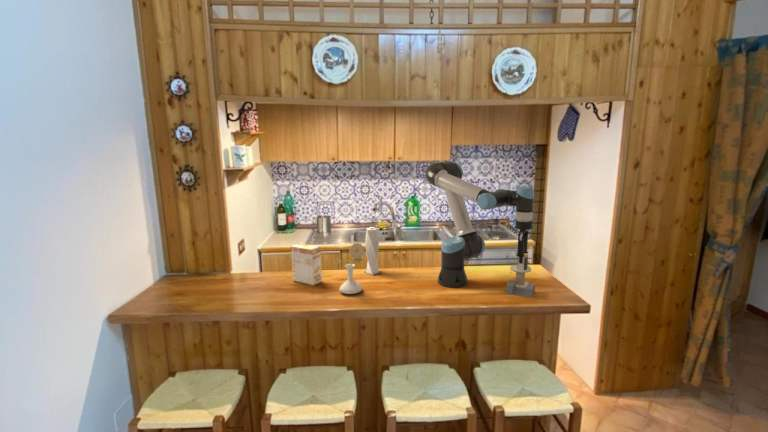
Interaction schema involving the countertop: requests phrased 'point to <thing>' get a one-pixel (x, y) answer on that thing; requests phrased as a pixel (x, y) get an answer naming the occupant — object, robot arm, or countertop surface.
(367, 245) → the skyscraper
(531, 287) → the notch board
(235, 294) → the countertop surface
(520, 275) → the bobbin
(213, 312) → the countertop surface
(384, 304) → the countertop surface
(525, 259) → the tan and grey block
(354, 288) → the flower in vase
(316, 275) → the coffeecake box
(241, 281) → the countertop surface
